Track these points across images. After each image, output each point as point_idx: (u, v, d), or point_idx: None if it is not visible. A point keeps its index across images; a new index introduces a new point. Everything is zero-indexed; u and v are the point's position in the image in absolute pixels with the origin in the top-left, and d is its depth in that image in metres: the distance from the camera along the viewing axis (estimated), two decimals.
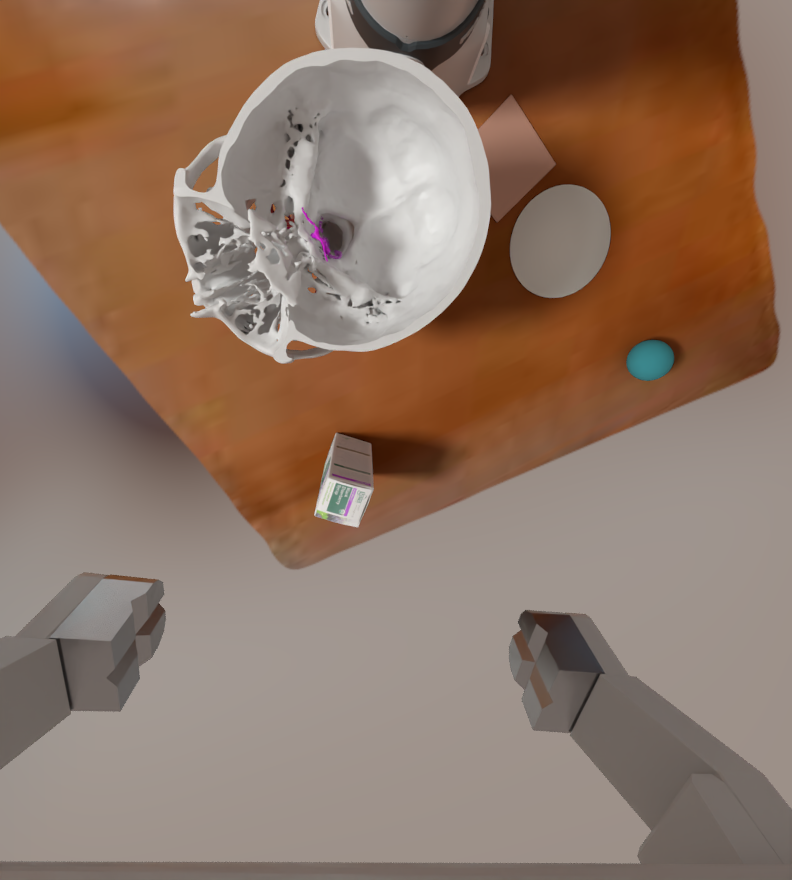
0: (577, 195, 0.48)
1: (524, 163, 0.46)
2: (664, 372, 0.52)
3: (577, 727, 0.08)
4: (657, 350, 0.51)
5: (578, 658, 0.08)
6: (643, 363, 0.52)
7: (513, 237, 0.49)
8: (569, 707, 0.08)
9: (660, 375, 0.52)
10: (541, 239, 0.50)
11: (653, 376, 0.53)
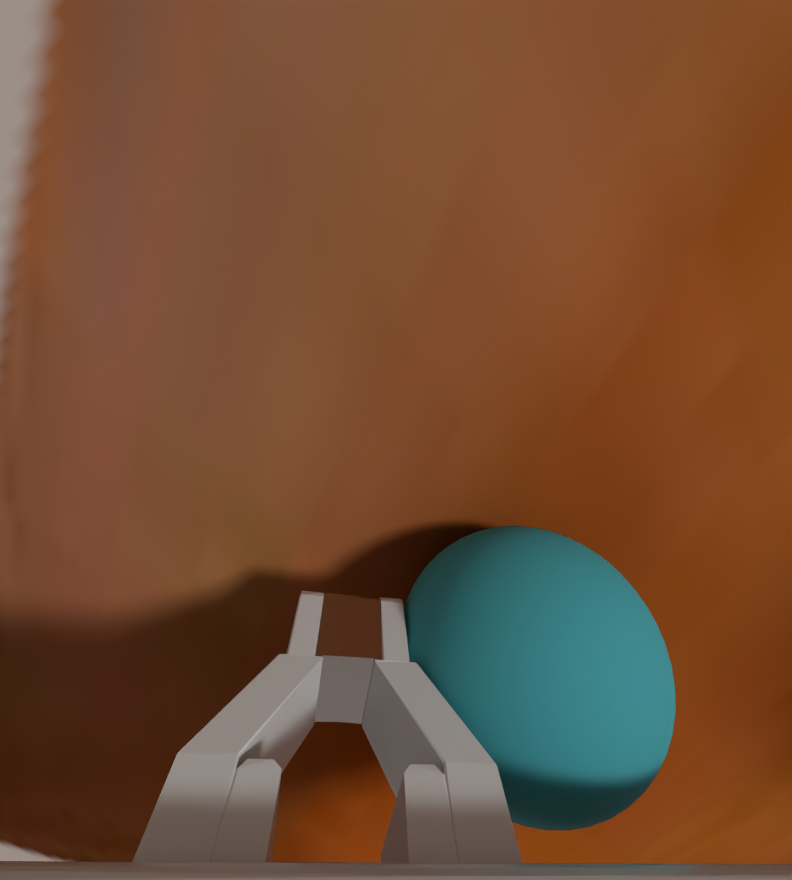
0: None
1: None
2: (604, 797, 0.06)
3: (368, 717, 0.08)
4: None
5: (361, 643, 0.07)
6: (660, 634, 0.08)
7: None
8: (353, 695, 0.07)
9: (599, 769, 0.06)
10: None
11: (618, 715, 0.06)
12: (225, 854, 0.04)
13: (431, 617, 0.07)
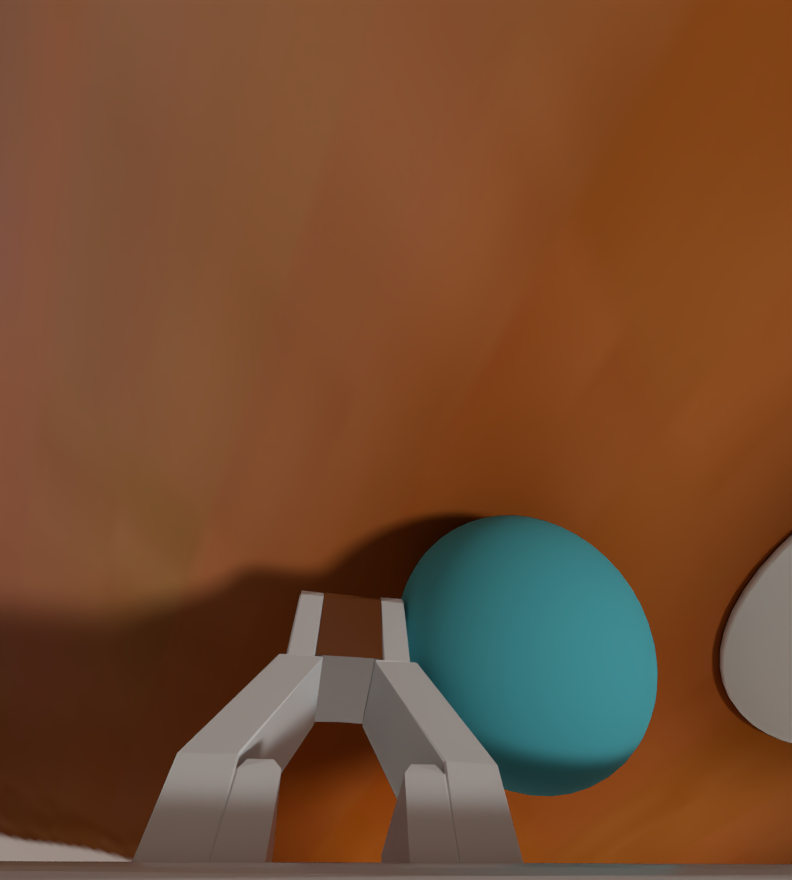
0: None
1: None
2: (622, 752, 0.07)
3: (369, 717, 0.08)
4: None
5: (361, 643, 0.07)
6: None
7: None
8: (354, 695, 0.07)
9: (620, 730, 0.07)
10: None
11: (630, 678, 0.07)
12: (225, 854, 0.04)
13: (445, 623, 0.07)
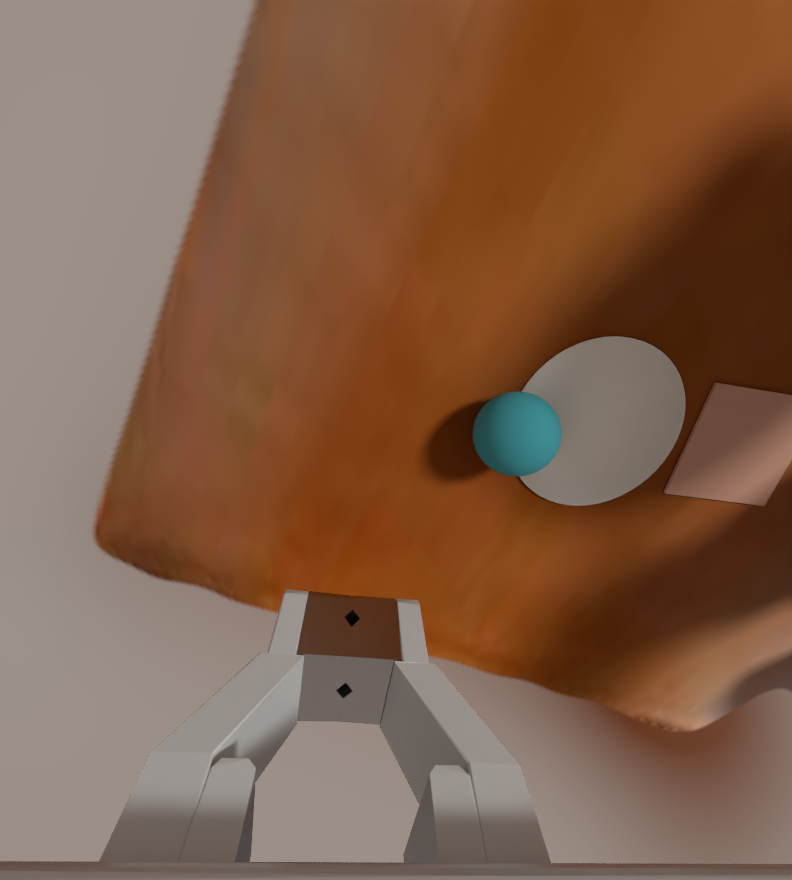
0: (611, 488, 0.30)
1: (710, 466, 0.30)
2: None
3: (386, 719, 0.08)
4: None
5: (379, 644, 0.07)
6: (491, 399, 0.25)
7: (678, 384, 0.28)
8: (372, 696, 0.07)
9: None
10: (628, 413, 0.28)
11: None
12: (194, 853, 0.04)
13: None
